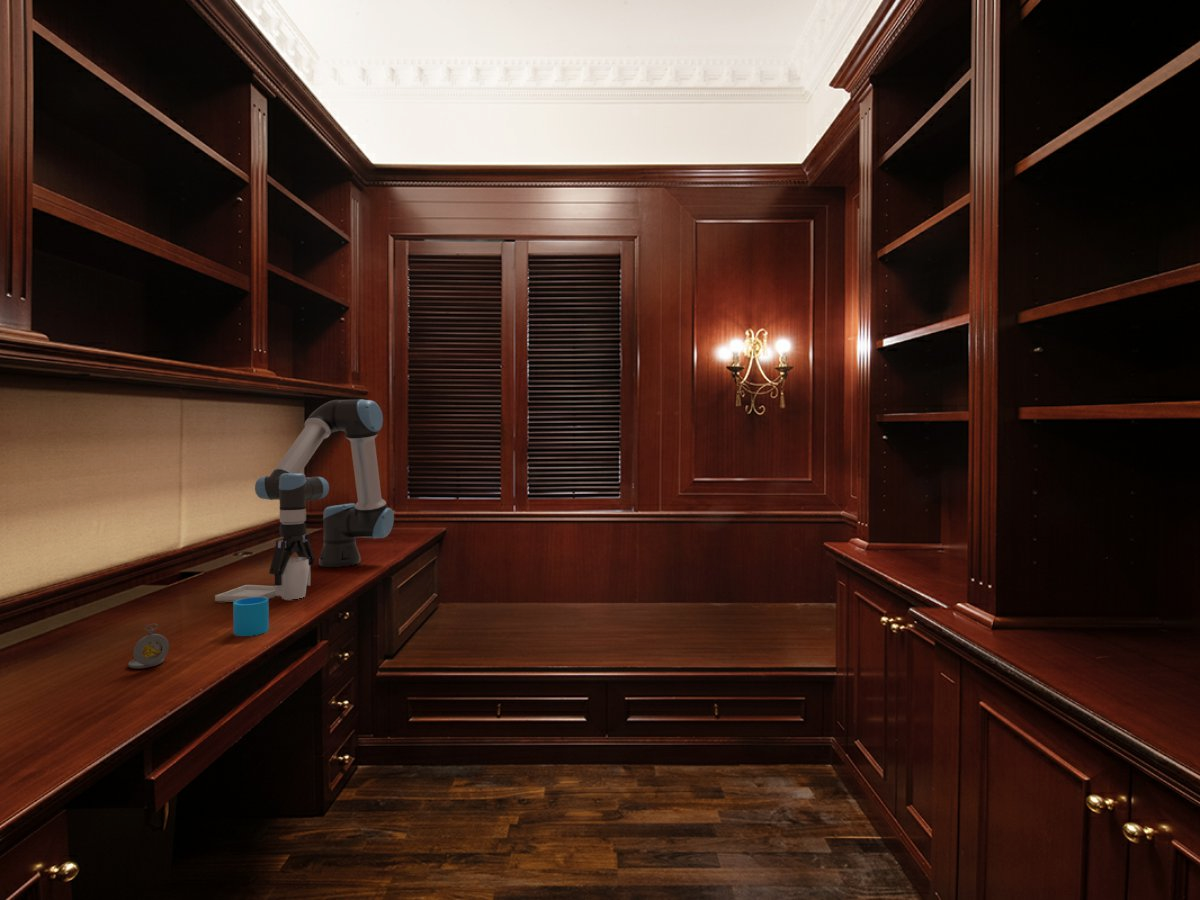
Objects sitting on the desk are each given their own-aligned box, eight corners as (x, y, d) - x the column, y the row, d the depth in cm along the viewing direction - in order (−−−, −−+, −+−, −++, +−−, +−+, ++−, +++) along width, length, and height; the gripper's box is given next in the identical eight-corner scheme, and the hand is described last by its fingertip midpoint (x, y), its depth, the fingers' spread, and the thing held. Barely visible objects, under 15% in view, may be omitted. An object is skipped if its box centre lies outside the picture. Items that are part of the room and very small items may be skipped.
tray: (246, 590, 214) (246, 584, 214) (285, 592, 212) (285, 586, 212) (215, 602, 200) (215, 595, 200) (257, 603, 198) (257, 597, 198)
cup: (296, 602, 200) (296, 563, 200) (270, 600, 202) (270, 561, 202) (315, 595, 209) (315, 557, 209) (290, 593, 211) (289, 556, 211)
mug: (258, 637, 167) (258, 605, 167) (226, 636, 167) (226, 605, 167) (282, 623, 179) (281, 593, 179) (252, 622, 179) (251, 593, 179)
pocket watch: (144, 659, 151) (143, 615, 151) (178, 660, 150) (177, 617, 150) (114, 672, 143) (113, 626, 142) (150, 673, 142) (149, 627, 142)
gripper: (305, 517, 218) (305, 580, 219) (255, 528, 194) (256, 599, 194) (326, 517, 217) (326, 581, 218) (279, 528, 193) (279, 600, 193)
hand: (293, 590), depth 206 cm, fingers open, 13 cm apart
